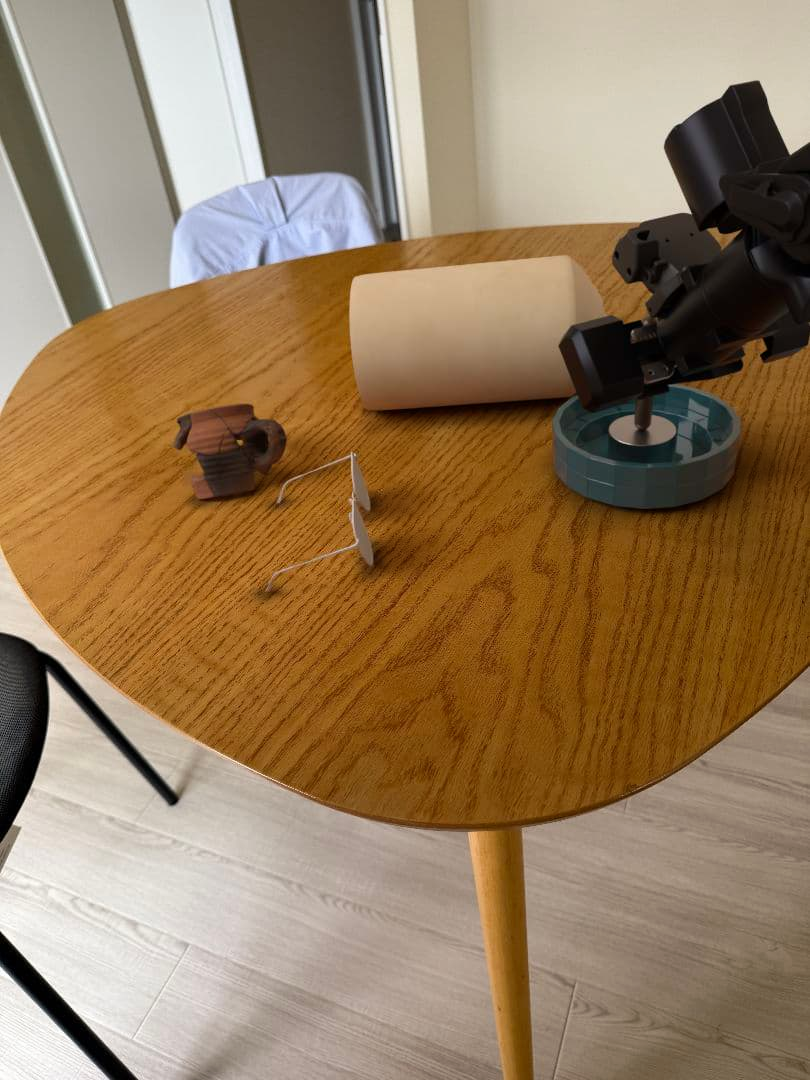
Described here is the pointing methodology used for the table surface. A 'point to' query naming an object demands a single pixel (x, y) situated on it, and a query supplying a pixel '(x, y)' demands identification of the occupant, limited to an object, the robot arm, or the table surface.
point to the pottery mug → (230, 448)
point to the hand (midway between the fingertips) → (636, 385)
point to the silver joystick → (642, 433)
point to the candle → (467, 332)
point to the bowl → (689, 478)
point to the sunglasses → (354, 516)
